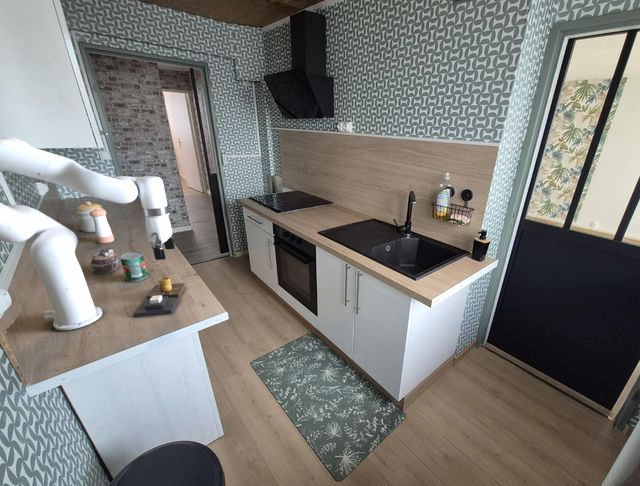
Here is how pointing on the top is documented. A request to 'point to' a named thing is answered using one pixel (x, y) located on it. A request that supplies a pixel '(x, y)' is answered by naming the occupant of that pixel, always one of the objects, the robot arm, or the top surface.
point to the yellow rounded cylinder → (165, 284)
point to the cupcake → (104, 261)
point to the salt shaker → (101, 226)
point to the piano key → (155, 299)
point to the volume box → (174, 292)
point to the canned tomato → (134, 266)
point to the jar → (87, 216)
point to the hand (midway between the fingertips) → (165, 253)
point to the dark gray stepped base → (157, 307)
